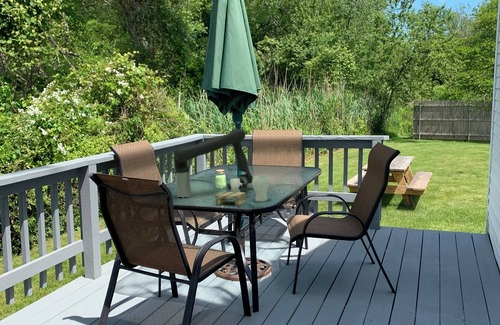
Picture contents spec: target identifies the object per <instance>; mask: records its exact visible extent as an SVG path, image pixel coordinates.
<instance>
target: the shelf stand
mask: <svg viewBox="0 0 500 325" xmlns="http://www.w3.org/2000/svg"><path fill="white" fill-rule="evenodd" d="M214 199H215V201H214V202H215V205H216V204H221V205H223V204H225V203H227V202H228V199H230V200H232V199H235V200H234V206H235V207H240V206H242V205H244V204H245V203H247V192H244V191H243V192H242V191H240V192H231V191H222V192H219V193H217V194H216V195H214ZM226 201H227V202H226ZM222 203H223V204H222Z"/></svg>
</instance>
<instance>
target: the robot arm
mask: <svg viewBox="0 0 500 325" xmlns="http://www.w3.org/2000/svg"><path fill="white" fill-rule="evenodd" d="M245 138H246V132H245V130H243V129H240V128H235V129H231V131H230V132H229V133H227V134H224V135H223V134H222V135H217V136H214V137H209V138H207V139H204V140H202V141H200V142H199V143H196V145H194V146H190V147H186V148H182V147H179V148H176V149H175V151H174V152H173V164H174V169H175V180H176V190H177V191H176V192H177V198H178V197H189V196H191V197H192V186H191V174H190V172H191V171H190V167H189V162H188V161H190V160H192V159H194V158H196V157H199V156H203V155H206V154H209V153H212V152H215V151H219V150H221V149H223V148H225V147H226V146H229V145H232V147H233V151H234V155H235V159H236V164H237V169H238V171H239V172H244V174H239V175H238V176H237V178H239V179H240V186H239V190H240V191H242V190H243V189H247V188H248V187H249V184H252V180H253V177H254V176H253V175H252V173H251V171H250V169H249V165H248V160H247V157H246V154H245V151H244V150H243V147H242V141H244V139H245ZM226 186H227V187H226V188H227V190H229V191H231V182H230V183H227V185H226ZM189 198H190V197H189Z"/></svg>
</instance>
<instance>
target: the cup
mask: <svg viewBox="0 0 500 325" xmlns="http://www.w3.org/2000/svg"><path fill="white" fill-rule="evenodd" d="M252 177H253V180H252V183H251V184H252V187H253V189H254V192H255V202H266V201H268V194H267V193H268V189H269V186H270V179H269V176H268V175H255V176H252Z"/></svg>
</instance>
